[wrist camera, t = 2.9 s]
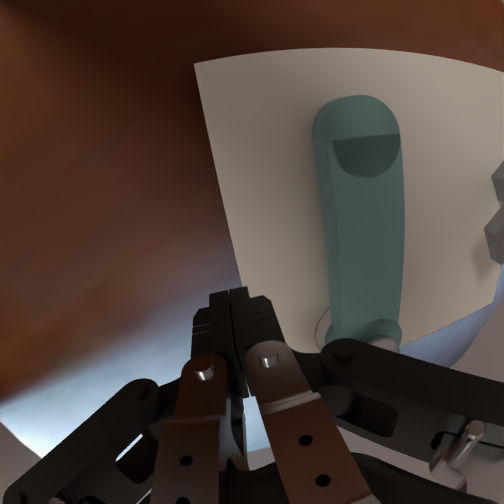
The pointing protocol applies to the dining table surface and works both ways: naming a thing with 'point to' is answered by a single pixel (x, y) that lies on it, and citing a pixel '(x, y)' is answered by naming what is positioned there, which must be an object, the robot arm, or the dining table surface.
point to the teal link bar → (361, 215)
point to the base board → (307, 184)
